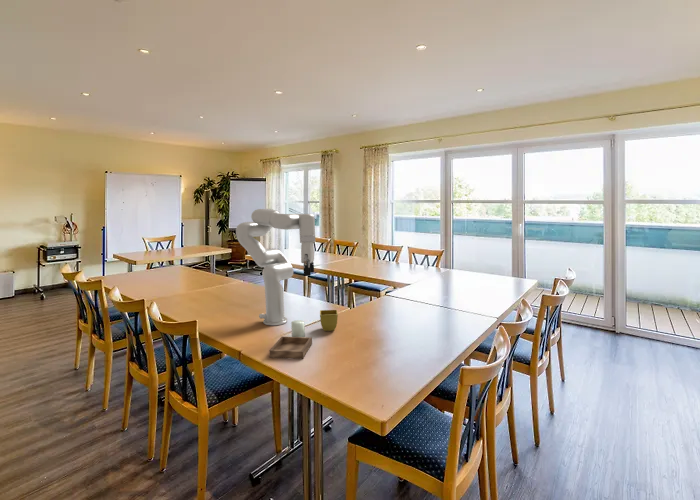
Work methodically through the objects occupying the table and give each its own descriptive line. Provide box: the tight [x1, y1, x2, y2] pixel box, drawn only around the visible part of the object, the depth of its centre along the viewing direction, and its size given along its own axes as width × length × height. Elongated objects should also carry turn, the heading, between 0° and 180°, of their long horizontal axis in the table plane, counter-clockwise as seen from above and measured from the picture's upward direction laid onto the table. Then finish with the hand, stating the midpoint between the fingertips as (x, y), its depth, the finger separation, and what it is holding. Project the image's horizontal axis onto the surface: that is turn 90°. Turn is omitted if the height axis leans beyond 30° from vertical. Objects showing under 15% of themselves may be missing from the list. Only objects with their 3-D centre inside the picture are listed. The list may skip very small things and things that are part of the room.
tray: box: [268, 336, 313, 360], centre depth 151 cm, size 14×16×3 cm
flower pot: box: [319, 309, 339, 332], centre depth 177 cm, size 9×9×9 cm
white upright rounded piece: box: [290, 319, 306, 337], centre depth 164 cm, size 6×6×8 cm
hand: (309, 274), depth 172 cm, fingers open, 9 cm apart
